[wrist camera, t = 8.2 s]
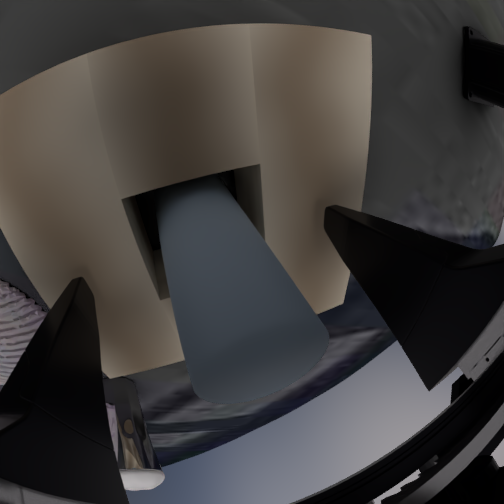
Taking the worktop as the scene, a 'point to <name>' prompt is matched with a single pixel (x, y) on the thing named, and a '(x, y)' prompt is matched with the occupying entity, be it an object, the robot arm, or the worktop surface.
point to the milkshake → (131, 436)
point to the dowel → (232, 297)
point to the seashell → (15, 326)
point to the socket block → (183, 163)
